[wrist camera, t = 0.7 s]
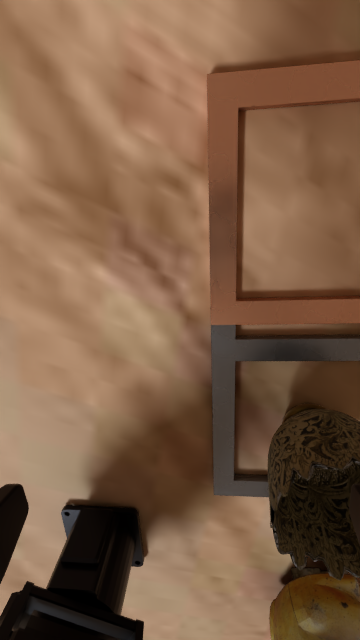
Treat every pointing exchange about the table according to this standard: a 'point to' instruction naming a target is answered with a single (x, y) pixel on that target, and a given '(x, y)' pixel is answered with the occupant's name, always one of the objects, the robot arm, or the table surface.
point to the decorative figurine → (316, 607)
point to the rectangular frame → (227, 311)
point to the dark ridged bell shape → (315, 487)
